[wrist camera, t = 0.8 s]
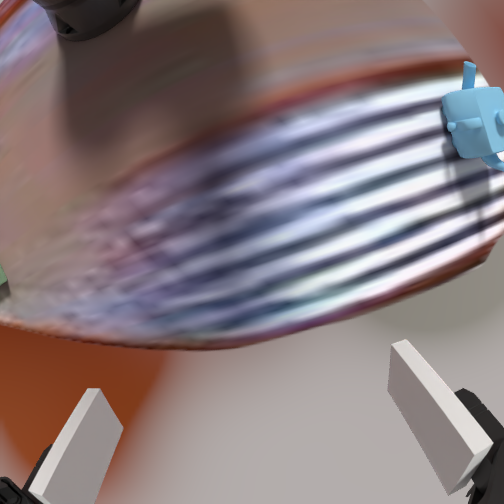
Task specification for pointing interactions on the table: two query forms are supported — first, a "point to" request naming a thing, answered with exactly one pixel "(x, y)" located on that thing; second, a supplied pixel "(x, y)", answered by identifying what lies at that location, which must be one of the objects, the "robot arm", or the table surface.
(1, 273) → the green
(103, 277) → the table surface
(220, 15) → the table surface
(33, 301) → the table surface
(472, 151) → the teapot
